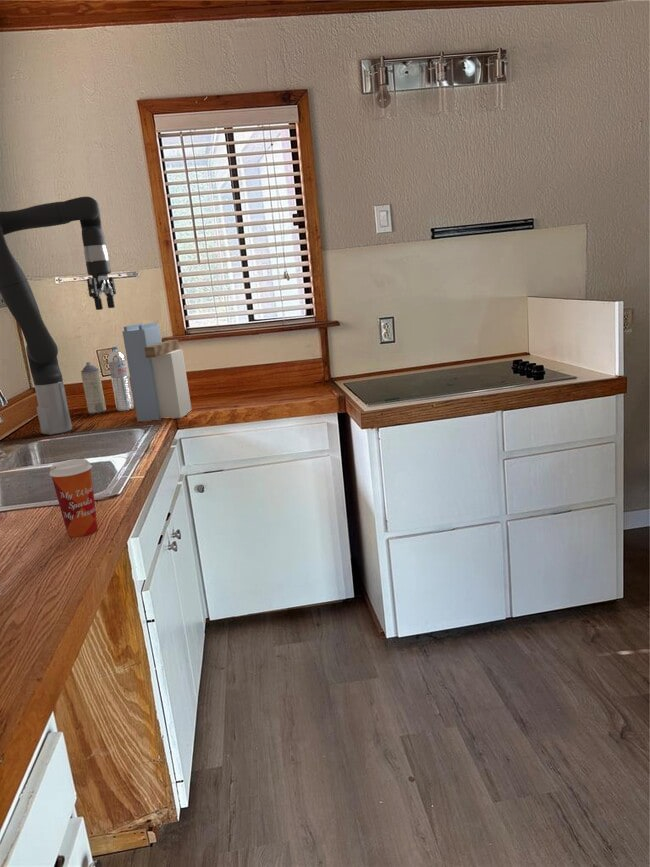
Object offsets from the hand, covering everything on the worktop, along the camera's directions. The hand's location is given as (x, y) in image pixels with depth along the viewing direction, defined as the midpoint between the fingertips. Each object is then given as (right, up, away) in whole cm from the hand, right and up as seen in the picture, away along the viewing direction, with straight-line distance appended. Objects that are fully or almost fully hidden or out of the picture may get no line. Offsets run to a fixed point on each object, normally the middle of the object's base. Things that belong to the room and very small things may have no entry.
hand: (105, 308), depth 218 cm
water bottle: (-4, -33, +35) cm, 48 cm away
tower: (+13, -37, +14) cm, 42 cm away
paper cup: (+28, -62, -93) cm, 115 cm away
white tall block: (+21, -36, +13) cm, 44 cm away
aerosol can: (-15, -34, +35) cm, 51 cm away
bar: (+19, -15, +5) cm, 24 cm away
